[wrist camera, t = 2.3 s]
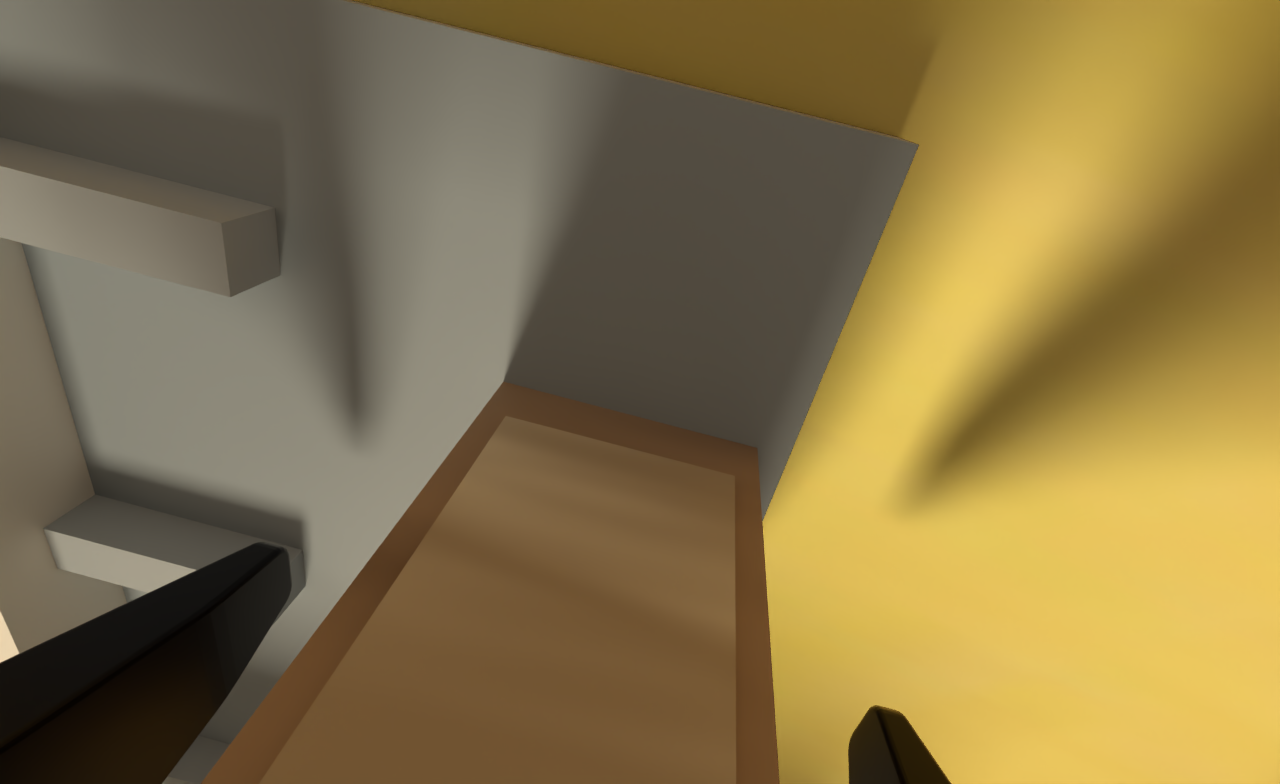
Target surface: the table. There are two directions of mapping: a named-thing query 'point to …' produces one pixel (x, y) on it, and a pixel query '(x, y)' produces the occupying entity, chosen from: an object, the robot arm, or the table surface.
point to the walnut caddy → (543, 620)
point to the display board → (368, 283)
